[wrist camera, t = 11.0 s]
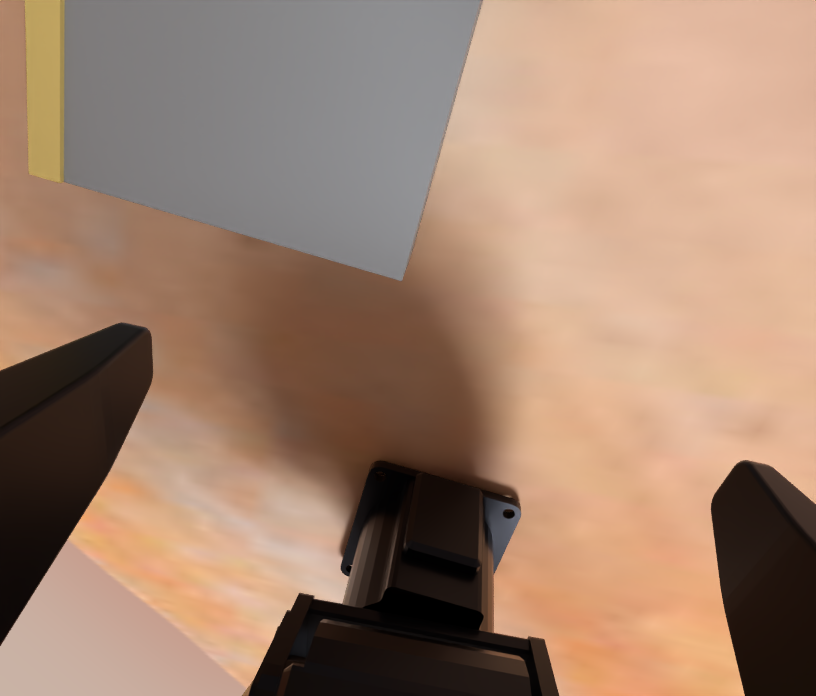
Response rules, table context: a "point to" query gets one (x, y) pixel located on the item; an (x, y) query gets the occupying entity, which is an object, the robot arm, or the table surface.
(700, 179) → the table surface
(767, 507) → the robot arm
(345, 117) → the gray and yellow box
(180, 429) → the table surface
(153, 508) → the table surface
